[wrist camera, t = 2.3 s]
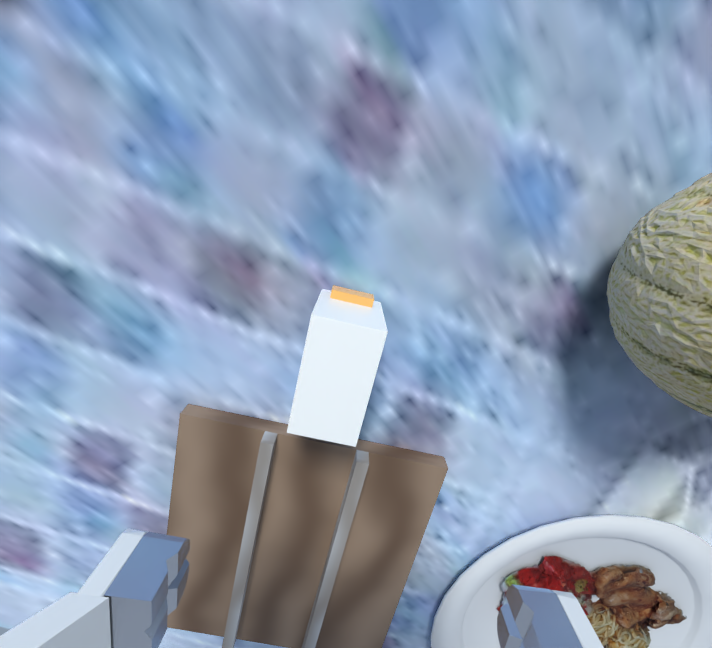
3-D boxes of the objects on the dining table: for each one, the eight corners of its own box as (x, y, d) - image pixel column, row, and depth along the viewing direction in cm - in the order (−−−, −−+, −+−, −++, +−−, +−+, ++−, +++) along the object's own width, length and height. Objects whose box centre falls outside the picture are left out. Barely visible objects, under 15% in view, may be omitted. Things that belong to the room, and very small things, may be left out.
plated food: (617, 738, 44) (637, 780, 41) (382, 674, 41) (385, 714, 38) (791, 556, 36) (834, 591, 33) (514, 459, 33) (531, 487, 30)
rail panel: (164, 609, 38) (148, 642, 35) (188, 404, 31) (171, 424, 28) (375, 645, 39) (376, 680, 37) (444, 456, 32) (452, 481, 30)
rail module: (302, 382, 30) (286, 432, 24) (324, 280, 28) (313, 304, 21) (356, 394, 31) (355, 446, 24) (382, 294, 28) (390, 322, 22)
